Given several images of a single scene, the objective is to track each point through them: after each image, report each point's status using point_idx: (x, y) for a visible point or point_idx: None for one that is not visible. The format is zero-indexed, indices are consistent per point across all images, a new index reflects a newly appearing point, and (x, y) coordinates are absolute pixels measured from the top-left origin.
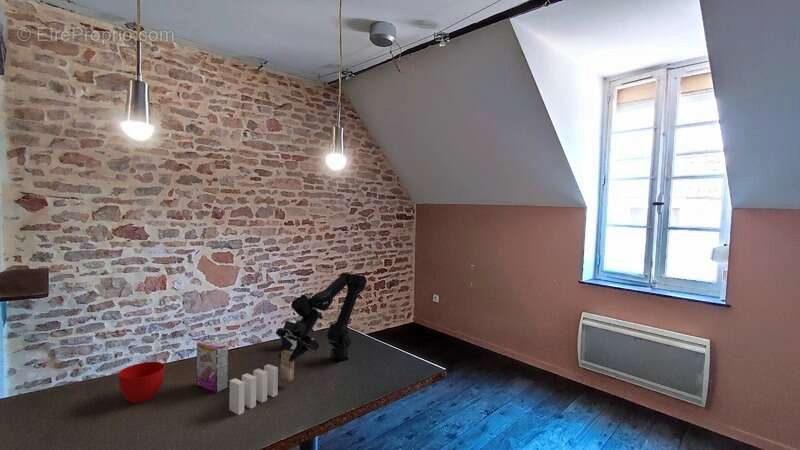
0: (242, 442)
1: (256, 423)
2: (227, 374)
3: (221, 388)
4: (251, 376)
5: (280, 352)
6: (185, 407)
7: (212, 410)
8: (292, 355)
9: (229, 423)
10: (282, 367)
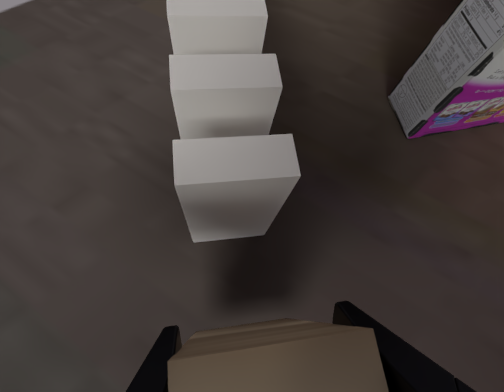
0: (32, 3)
1: (78, 72)
2: (446, 98)
3: (399, 107)
4: (202, 6)
5: (381, 333)
6: (354, 11)
7: (278, 40)
8: (136, 386)
9: (161, 31)
10: (284, 324)
